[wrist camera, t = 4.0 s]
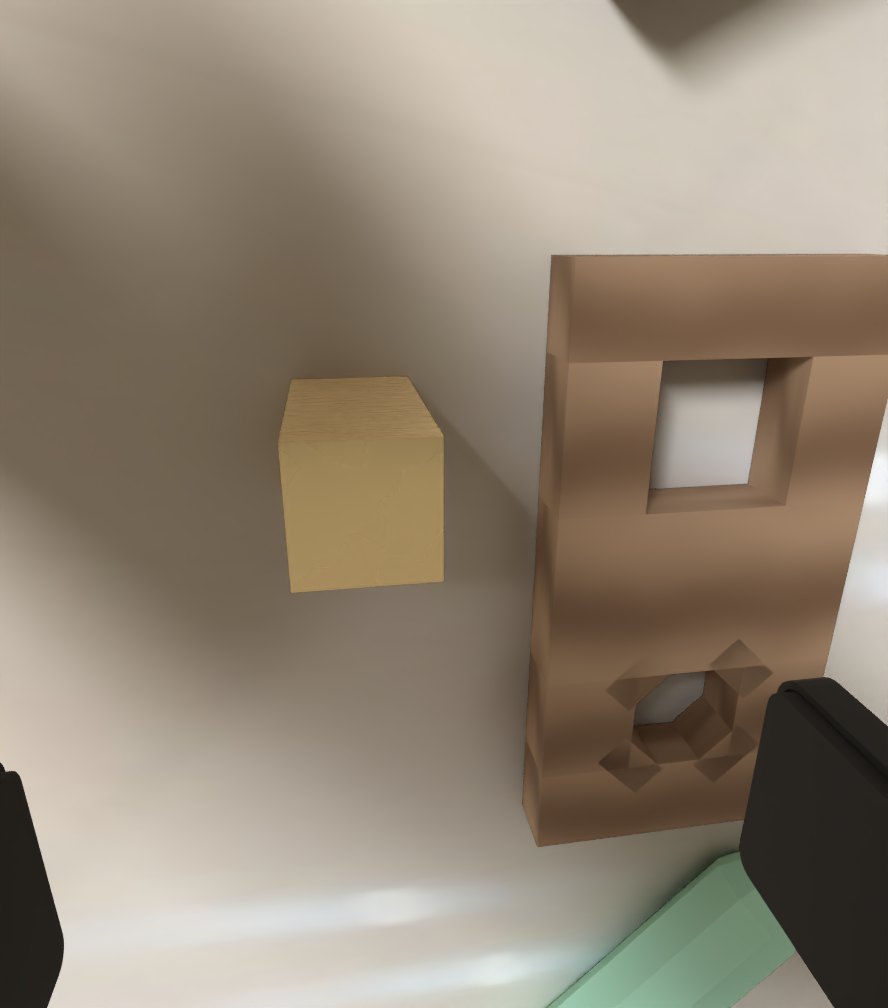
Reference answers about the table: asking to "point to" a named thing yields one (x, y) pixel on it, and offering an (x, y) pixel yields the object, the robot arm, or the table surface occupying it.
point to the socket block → (689, 527)
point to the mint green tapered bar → (691, 949)
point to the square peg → (361, 484)
